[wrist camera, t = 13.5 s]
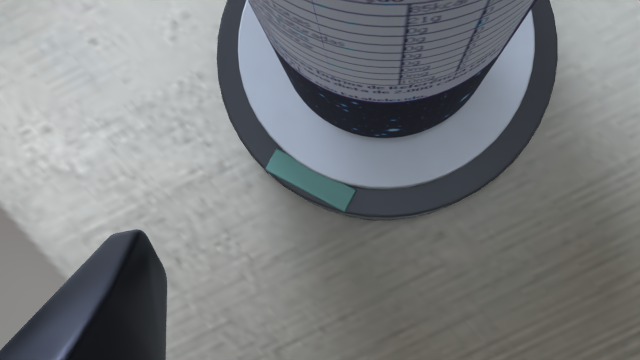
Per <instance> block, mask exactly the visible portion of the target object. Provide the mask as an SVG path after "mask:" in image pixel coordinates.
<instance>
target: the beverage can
mask: <svg viewBox="0 0 640 360" xmlns="http://www.w3.org/2000/svg"><path fill="white" fill-rule="evenodd" d="M536 1H537V0H248V2H249V3H250V5H251V7H252V9H253V11H254V13H255V15H256V17H257V19H258V21H259V23H260V25H261V26H262V28H263V30H264V32H265V34H266V36H267V38H268V40H269V42H270V44H271V46H272V47H273V49H274V51H275V53H276V55H277V57H278V59H279V61H280V63H281V65H282V67H283V68H284V70H285V72H286V74H287V76H288V78H289V80H290V82H291V84H292V85H293V87H294V89H295V91H296V92H297V93H298V95H299V96H300V98H301V99H302V100H303V101H304V103H305V104H306V105H307V106H308V107H309V108H310V109H311V110H312V111H313V112H315V113H316V114H317V115H318V116H320V117H321V118H322V119H324V120H325V121H327V122H328V123H330V124H332V125H334V126H335V127H337V128H340V129H342V130H344V131H347V132H350V133H353V134H357V135H360V136H366V137H373V138H397V137H404V136H409V135H413V134H416V133H420V132H423V131H425V130H428V129H430V128H432V127H434V126H436V125H438V124H440V123H442V122H443V121H445V120H446V119H448V118H449V117H451V116H452V115H453V114H455V113H456V112H457V111H458V110H459V109H460V108H461V107H462V106H464V105H465V103H466V102H467V101H468V100H469V99H470V98H471V96H472V95H473V94H474V93H475V91H476V90H477V88H478V87H479V85H480V84H481V82H482V81H483V79H484V78H485V76H486V75H487V74H488V72H489V71H490V69H491V68H492V66H493V65H494V63H495V62H496V60H497V59H498V57H499V56H500V54H501V53H502V51H503V50H504V49H505V47H506V46H507V44H508V43H509V41H510V40H511V38H512V37H513V35H514V34H515V32H516V31H517V29H518V28H519V26H520V25H521V23H522V22H523V21H524V19H525V18H526V16H527V15H528V13H529V12H530V10H531V9H532V7H533V6H534V4H535V3H536Z"/></svg>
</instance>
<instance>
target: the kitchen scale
mask: <svg viewBox="0 0 640 360" xmlns="http://www.w3.org/2000/svg"><path fill="white" fill-rule="evenodd" d="M217 67H218V80H219V84H220V89H221V94H222V98H223V102H224V105H225V107H226V110H227V113H228V116H229V118H230V121H231V123H232V125H233V127H234V129H235V130H236V132H237V134H238V136H239V138H240V140H241V141H242V143H243V144H244V145H245V147H246V148H247V150H248V151H249V153H250V154H251V155H252V157H253V158H254V159H255V160H256V161H257V162H258V163H259V164H260V165H261V166H262V167H263V169H264V170H265V171H266V172H267V173H268V174H270V175H271V176H272V177H273V178H275V179H276V180H277V181H278V182H279V183H281V184H282V185H283V186H284V187H286V188H288V189H289V190H291V191H292V192H294V193H296V194H297V195H299V196H300V197H302V198H304V199H305V200H307V201H309V202H311V203H313V204H315V205H317V206H319V207H322V208H324V209H326V210H329V211H332V212H335V213H338V214H342V215H345V216H349V217H355V218H361V219H368V220H395V219H405V218H412V217H416V216H420V215H424V214H429V213H432V212H434V211H437V210H440V209H442V208H445V207H448V206H450V205H452V204H454V203H456V202H458V201H460V200H462V199H464V198H466V197H468V196H470V195H472V194H473V193H475V192H477V191H479V190H480V189H481V188H483V187H484V186H486V185H487V184H488V183H490V182H491V181H493V180H494V179H495V178H497V177H498V176H499V175H500V174H501V173H502V172H503V171H504V170H505V169H506V168H507V167H508V166H509V165H510V164H512V163H513V162H514V160H515V159H516V158H517V157H518V155H519V154H520V153H521V152H522V150H523V149H524V148H525V147H526V146H527V144H528V143H529V141H530V139H531V138H532V136H533V135H534V133H535V131H536V130H537V128H538V126H539V125H540V122H541V120H542V118H543V115H544V113H545V111H546V108H547V106H548V104H549V100H550V97H551V93H552V89H553V86H554V82H555V75H556V67H557V33H556V26H555V19H554V14H553V11H552V8H551V4H550V1H549V0H537V1H536V3H535V4H534V6H533V7H532V9H531V10H530V12H529V13H528V15H527V16H526V18H525V19H524V21H523V22H522V23H521V25H520V26H519V28H518V29H517V31H516V32H515V34H514V35H513V37H512V38H511V40H510V41H509V43H508V44H507V46H506V47H505V49H504V50H503V51H502V53H501V54H500V56H499V57H498V59H497V60H496V62H495V63H494V65H493V66H492V68H491V69H490V71H489V72H488V74H487V75H486V76H485V78H484V79H483V81H482V82H481V84H480V85H479V87H478V88H477V90H476V91H475V93H474V94H473V95H472V96H471V98H470V99H469V100H468V101H467V102H466V103H465V105H464V106H462V107H461V108H460V109H459V110H458V111H457V112H456V113H455V114H453V115H452V116H451V117H449V118H448V119H446V120H445V121H443V122H442V123H440V124H438V125H436V126H434V127H432V128H430V129H428V130H425V131H423V132H420V133H416V134H413V135H409V136H404V137H397V138H373V137H366V136H360V135H357V134H353V133H350V132H347V131H344V130H342V129H340V128H337V127H335V126H334V125H332V124H330V123H328V122H327V121H325V120H324V119H322V118H321V117H320V116H318V115H317V114H316V113H315V112H313V111H312V110H311V109H310V108H309V107H308V106H307V105H306V104H305V103H304V101H303V100H302V99H301V98H300V96H299V95H298V93H297V92H296V91H295V89H294V87H293V85H292V84H291V82H290V80H289V78H288V76H287V74H286V72H285V70H284V68H283V67H282V65H281V63H280V61H279V59H278V57H277V55H276V53H275V51H274V49H273V47H272V46H271V44H270V42H269V40H268V38H267V36H266V34H265V32H264V30H263V28H262V26H261V25H260V23H259V21H258V19H257V17H256V15H255V13H254V11H253V9H252V7H251V5H250V3H249V2H248V0H227V3H226V6H225V9H224V12H223V15H222V19H221V24H220V29H219V35H218V46H217Z"/></svg>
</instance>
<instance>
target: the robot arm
mask: <svg viewBox="0 0 640 360" xmlns="http://www.w3.org/2000/svg"><path fill="white" fill-rule="evenodd" d="M166 315H167V277H166V273H165V270H164V267H163V265H162V263H161V261H160V260H159V258H158V256H157V254H156V252H155V250H154V248H153V246H152V244H151V243H150V241H149V239H148V237H147V236H146V234H145V233H144V232H143V231H141V230H138V229H136V230H131V231H125V232H120V233H116V234H113V235H111V236H110V237H109V238H108V239H107V240H106V241H105V242H104V243H103V244H102V245H101V246H100V247H99V248H98V249H97V250H96V251H95V252H94V253H93V254H92V255H91V257H90V258H89V259H88V260H87V261H86V262H85V263H84V264H83V265H82V266H81V267H80V268H79V269H78V270H77V271H76V272H75V273H74V274H73V275H72V276H71V277H70V278H69V279H68V280H67V281H66V283H65V284H64V285H63V286H62V287H61V288H60V289H59V290H58V291H57V292H56V293H55V294H54V295H53V296H52V297H51V298H50V299H49V300H48V301H47V302H46V303H45V305H43V306H42V308H41V309H40V310H39V311H38V312H37V313H36V314H35V315H34V316H33V317H32V318H31V319H30V320H29V321H28V322H27V323H26V324H25V325H24V326H23V327H22V328H21V329H20V330H19V331H18V333H17V334H16V335H15V336H14V337H13V338H12V339H11V340H10V341H9V342H8V343H7V344H6V345H5V346H4V347H3V348H2V349H1V350H0V360H166Z"/></svg>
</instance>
